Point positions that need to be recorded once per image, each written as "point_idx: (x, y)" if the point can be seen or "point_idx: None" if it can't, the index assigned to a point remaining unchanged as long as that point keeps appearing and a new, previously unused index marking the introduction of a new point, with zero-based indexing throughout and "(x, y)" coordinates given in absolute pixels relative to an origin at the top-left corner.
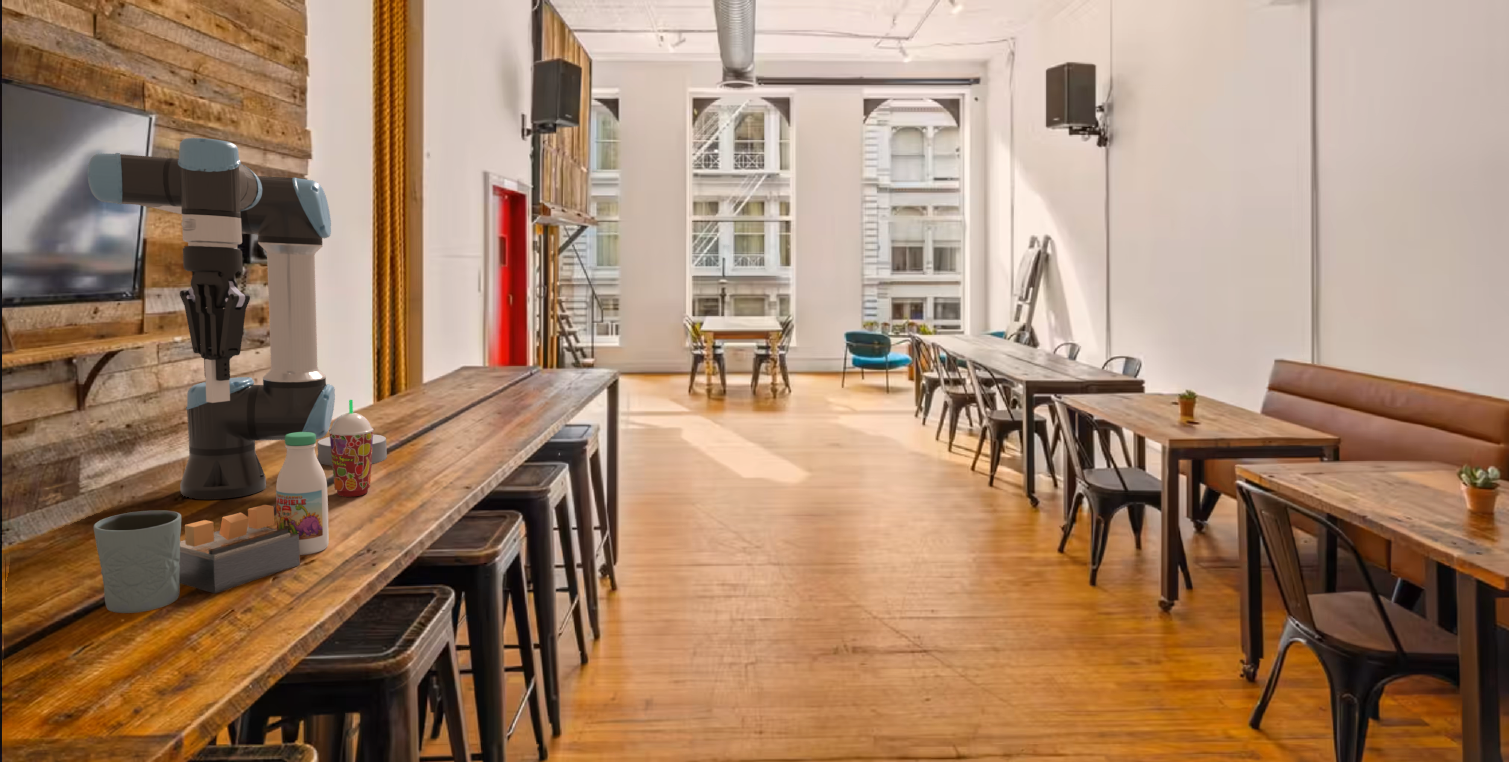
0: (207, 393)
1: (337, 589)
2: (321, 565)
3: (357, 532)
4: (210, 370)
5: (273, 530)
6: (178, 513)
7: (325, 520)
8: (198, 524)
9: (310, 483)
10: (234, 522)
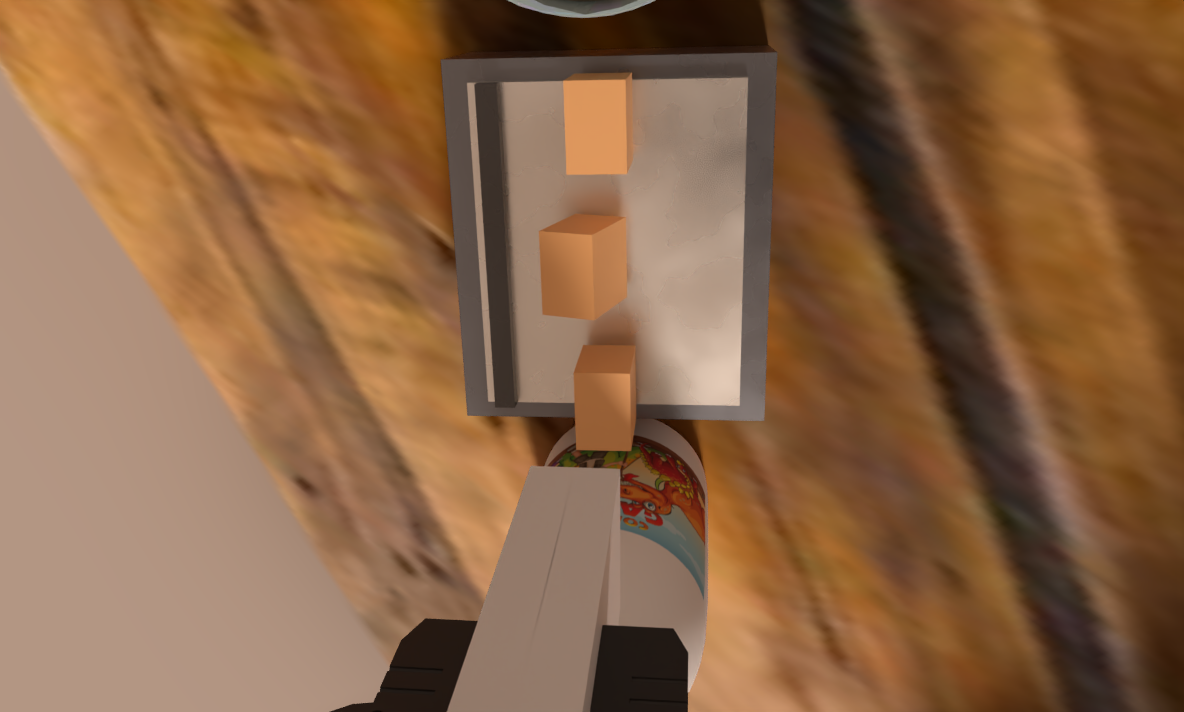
0: (589, 506)
1: (197, 281)
2: (430, 402)
3: None
4: (484, 651)
5: (566, 391)
6: (531, 3)
7: None
8: (584, 117)
9: None
10: (540, 246)
